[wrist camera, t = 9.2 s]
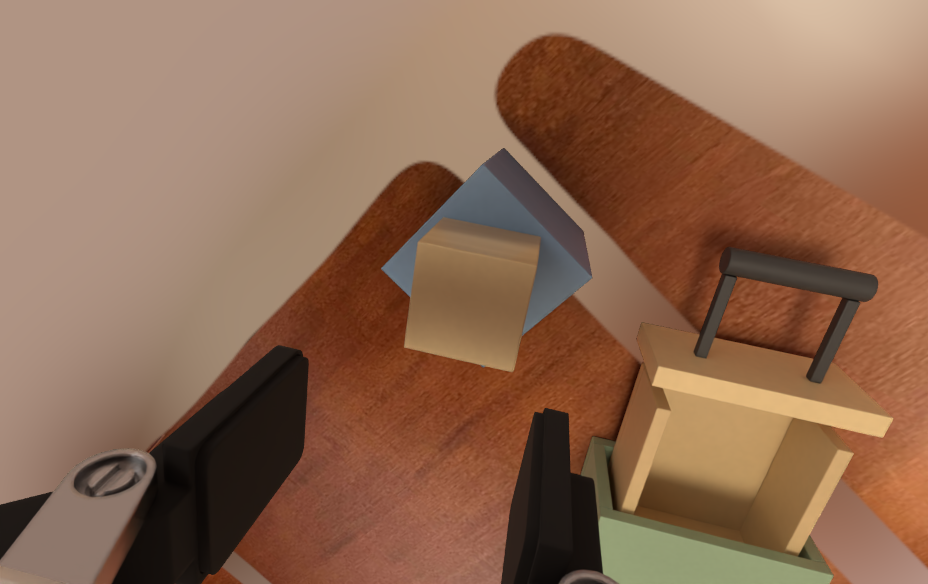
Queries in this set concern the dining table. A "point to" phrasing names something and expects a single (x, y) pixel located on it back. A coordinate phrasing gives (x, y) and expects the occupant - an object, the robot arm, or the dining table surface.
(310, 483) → the dining table surface
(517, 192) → the block
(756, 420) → the drawer
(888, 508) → the dining table surface
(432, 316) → the block
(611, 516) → the cabinet
